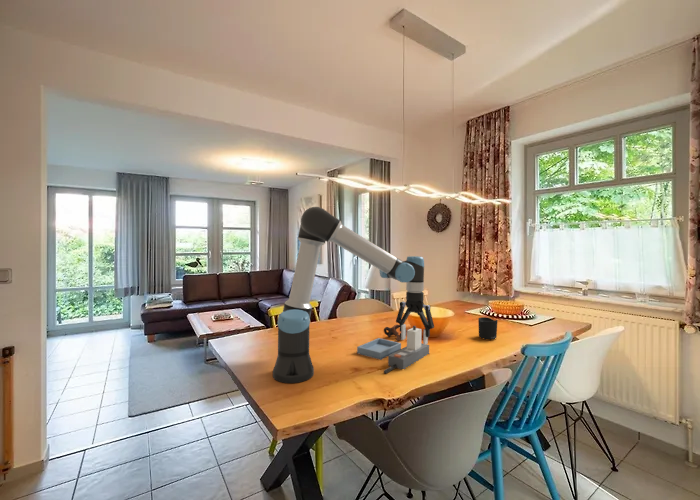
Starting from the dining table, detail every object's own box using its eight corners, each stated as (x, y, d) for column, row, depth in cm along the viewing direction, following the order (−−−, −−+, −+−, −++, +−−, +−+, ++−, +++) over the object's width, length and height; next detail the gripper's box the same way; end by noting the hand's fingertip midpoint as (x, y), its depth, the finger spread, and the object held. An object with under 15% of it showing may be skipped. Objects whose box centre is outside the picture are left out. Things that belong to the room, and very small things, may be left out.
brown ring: (402, 336, 173) (407, 325, 169) (403, 349, 164) (408, 337, 161) (381, 330, 172) (385, 319, 168) (381, 343, 164) (386, 331, 160)
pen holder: (478, 339, 167) (479, 320, 167) (477, 334, 176) (477, 316, 176) (498, 341, 164) (498, 322, 164) (495, 336, 173) (496, 318, 173)
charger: (415, 355, 136) (415, 328, 136) (406, 353, 139) (407, 326, 138) (421, 351, 141) (421, 325, 141) (413, 349, 143) (413, 324, 143)
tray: (380, 359, 135) (380, 352, 135) (357, 353, 143) (357, 346, 143) (400, 349, 149) (401, 343, 149) (378, 344, 157) (378, 338, 157)
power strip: (392, 376, 119) (392, 364, 119) (376, 371, 123) (377, 359, 123) (429, 353, 144) (429, 343, 144) (415, 350, 148) (415, 340, 148)
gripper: (443, 293, 135) (442, 344, 136) (396, 288, 149) (396, 334, 150) (435, 295, 129) (435, 349, 130) (388, 289, 143) (387, 338, 144)
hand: (414, 341), depth 140 cm, fingers open, 10 cm apart
